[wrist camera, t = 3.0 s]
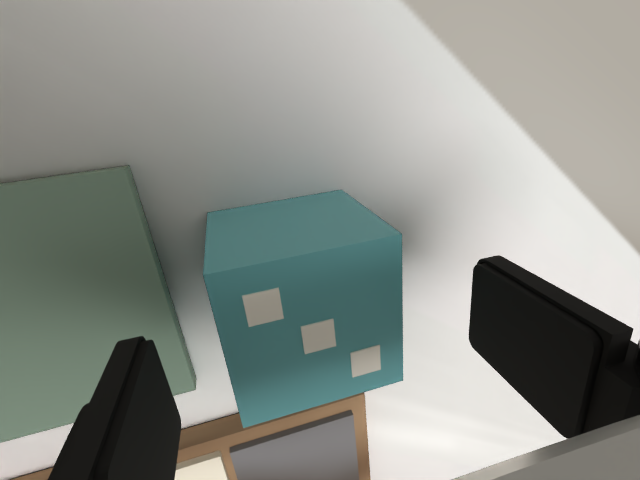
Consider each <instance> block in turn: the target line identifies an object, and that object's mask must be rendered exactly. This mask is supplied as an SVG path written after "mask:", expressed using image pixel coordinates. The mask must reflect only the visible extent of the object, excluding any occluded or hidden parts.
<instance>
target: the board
mask: <svg viewBox="0 0 640 480" xmlns="http://www.w3.org/2000/svg"><path fill="white" fill-rule="evenodd" d="M52 469H53V467H52V468H49V469H45V470H42V471H39V472H35V473H32V474H28V475H25V476H21V477H18V478H15V479H11V480H48V478H49V475H50V473H51V471H52ZM175 480H370V467H369V452H368V438H367V424H366V409H365V395H364V392H363V393H359V394H356V395H353V396H349V397H346V398H343V399H339V400H336V401H333V402H329V403H326V404H322V405H319V406H316V407H312V408H309V409H306V410H302V411H299V412H296V413H292V414H289V415H286V416H282V417H279V418H276V419H272V420H269V421H266V422H262V423H259V424H256V425H252V426H249V427H246V428H243V426H242V422H241V418H240V414H239V413H238V414H234V415H231V416H227V417H224V418H221V419H217V420H214V421H210V422H207V423H203V424H200V425H197V426H193V427H190V428H186V429H183V430H181V434H180V442H179V449H178V457H177V464H176V472H175Z"/></svg>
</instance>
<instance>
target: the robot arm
mask: <svg viewBox="0 0 640 480" xmlns="http://www.w3.org/2000/svg"><path fill="white" fill-rule="evenodd" d="M632 332H633V328H631V327H629V326H627V325H626V324H624V323H622V322H620V321H618V320H616V319H615V318H613V317H611V316H609V315H607V314H606V313H604V312H602V311H600V310H598V309H596V308H595V307H593V306H591V305H589V304H587V303H585V302H584V301H582V300H580V299H578V298H576V297H575V296H573V295H571V294H569V293H567V292H565V291H564V290H562V289H560V288H558V287H556V286H555V285H553V284H551V283H549V282H547V281H545V280H544V279H542V278H540V277H538V276H536V275H535V274H533V273H531V272H529V271H527V270H525V269H524V268H522V267H520V266H518V265H516V264H515V263H513V262H511V261H509V260H507V259H505V258H504V257H502V256H493V257H488V258H484V259H480V260H479V261H478V263H477V265H476V266H475V267H474V269H473V281H472V296H471V311H470V326H469V341H470V343H471V345H472V347H473V348H474V350H475V351H477V352H478V353H479V354H480V355H481V356H482V357H483V358H484V359H485V360H486V361H487V362H488V363H489V364H490V365H491V366H492V367H493V368H494V369H495V370H496V371H497V372H498V373H499V374H500V375H501V376H502V377H503V378H504V379H505V380H506V381H507V382H508V383H509V384H510V385H511V386H512V387H513V388H514V389H515V390H516V391H517V392H518V393H519V394H520V395H521V396H522V397H523V398H524V399H525V400H526V401H527V402H528V403H530V404H531V405H532V406H533V407H534V408H535V409H536V410H537V411H538V412H539V413H540V414H541V415H542V416H543V417H544V418H545V419H546V420H547V421H548V422H549V423H550V424H551V425H552V426H553V427H554V428H555V429H556V430H557V431H558V432H559V433H560V434H561V435H562V436H564V437H566V438H568V439H566V440H563V441H561V442H558V443H555V444H552V445H549V446H546V447H543V448H540V449H537V450H535V451H532V452H529V453H526V454H523V455H520V456H517V457H514V458H512V459H509V460H506V461H503V462H500V463H497V464H494V465H492V466H489V467H486V468H483V469H480V470H477V471H475V472H472V473H469V474H466V475H463V476H460V477H457V478H455V479H452V480H640V340H639V342H638V345H637V344H636V343H634V342H632V341H630V339H631V336H632ZM180 434H181V419H180V415H179V412H178V409H177V406H176V403H175V400H174V398H173V395H172V392H171V389H170V386H169V383H168V380H167V378H166V375H165V372H164V369H163V366H162V363H161V360H160V358H159V355H158V352H157V349H156V346H155V344H154V341H153V340H146V339H145V338H144V337H143V336H139V337H134V338H130V339H125V340H121V341H118V342H117V343H116V345H115V347H114V349H113V351H112V354H111V356H110V358H109V360H108V363H107V365H106V367H105V369H104V371H103V374H102V376H101V378H100V380H99V382H98V385H97V387H96V389H95V391H94V394H93V396H92V398H91V400H90V402H89V403H87V404H86V405H84V406H83V407H82V409H81V410H80V412H79V414H78V416H77V418H76V420H75V422H74V424H73V427H72V429H71V431H70V433H69V435H68V437H67V439H66V441H65V444H64V446H63V448H62V450H61V452H60V454H59V456H58V458H57V461H56V463H55V465H54V467H53V469H52V471H51V473H50V475H49V478H48V480H175V472H176V464H177V457H178V449H179V442H180Z"/></svg>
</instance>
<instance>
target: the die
mask: <svg viewBox="0 0 640 480" xmlns="http://www.w3.org/2000/svg"><path fill="white" fill-rule="evenodd" d="M203 277H204V281H205V284H206V288H207V292H208V296H209V300H210V304H211V307H212V311H213V315H214V319H215V323H216V326H217V330H218V334H219V338H220V342H221V346H222V349H223V353H224V357H225V361H226V365H227V368H228V372H229V376H230V380H231V384H232V387H233V391H234V395H235V399H236V403H237V407H238V410H239V414H240V418H241V422H242V426H243V428H246V427H249V426H252V425H256V424H259V423H262V422H266V421H269V420H272V419H276V418H279V417H282V416H286V415H289V414H292V413H296V412H299V411H302V410H306V409H309V408H312V407H316V406H319V405H322V404H326V403H329V402H333V401H336V400H339V399H343V398H346V397H349V396H353V395H356V394H359V393H363V392H366V391H369V390H373V389H376V388H379V387H383V386H386V385H389V384H393V383H396V382H399V381H403V314H402V234H401V233H400V232H398V231H397V230H396V229H394V228H393V227H392V226H390V225H389V224H388V223H386V222H385V221H384V220H382V219H381V218H379V217H378V216H377V215H375V214H374V213H373V212H371V211H370V210H369V209H367V208H366V207H364V206H363V205H362V204H360V203H359V202H358V201H356V200H355V199H354V198H352V197H351V196H349V195H348V194H347V193H345V192H344V191H343V190H336V191H331V192H325V193H319V194H313V195H307V196H301V197H296V198H290V199H284V200H278V201H272V202H267V203H261V204H255V205H249V206H243V207H237V208H232V209H226V210H220V211H214V212H208V213H207V227H206V241H205V255H204V269H203Z"/></svg>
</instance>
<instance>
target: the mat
mask: <svg viewBox="0 0 640 480" xmlns="http://www.w3.org/2000/svg"><path fill="white" fill-rule="evenodd" d="M139 336H143V337H144V338H145V339H146V340H153V341H154V344H155V346H156V349H157V352H158V355H159V358H160V360H161V363H162V366H163V369H164V372H165V375H166V378H167V380H168V383H169V386H170V389H171V392H172V395H173V396H175V395H178V394H182V393H186V392H189V391H193V390H196V376H195V373H194V370H193V367H192V364H191V361H190V357H189V354H188V351H187V348H186V345H185V342H184V338H183V335H182V332H181V329H180V326H179V323H178V319H177V316H176V313H175V310H174V307H173V303H172V300H171V297H170V294H169V291H168V288H167V284H166V281H165V278H164V275H163V272H162V269H161V265H160V262H159V259H158V256H157V253H156V250H155V246H154V243H153V240H152V237H151V234H150V231H149V227H148V224H147V221H146V218H145V215H144V211H143V208H142V205H141V202H140V199H139V196H138V192H137V189H136V186H135V183H134V180H133V177H132V173H131V170H130V167H129V165H128V166H121V167H114V168H107V169H100V170H93V171H85V172H78V173H71V174H64V175H57V176H50V177H43V178H36V179H29V180H22V181H15V182H8V183H1V184H0V443H1V442H5V441H9V440H12V439H16V438H20V437H23V436H27V435H31V434H35V433H38V432H42V431H46V430H49V429H53V428H57V427H60V426H64V425H68V424H71V423H74V422H75V420H76V418H77V416H78V414H79V412H80V410H81V409H82V407H83V406H84V405H86V404H87V403H89V402H90V400H91V398H92V396H93V394H94V391H95V389H96V387H97V385H98V382H99V380H100V378H101V376H102V374H103V371H104V369H105V367H106V365H107V363H108V360H109V358H110V356H111V354H112V351H113V349H114V347H115V345H116V343H117V342H118V341H121V340H125V339H130V338H134V337H139Z"/></svg>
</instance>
